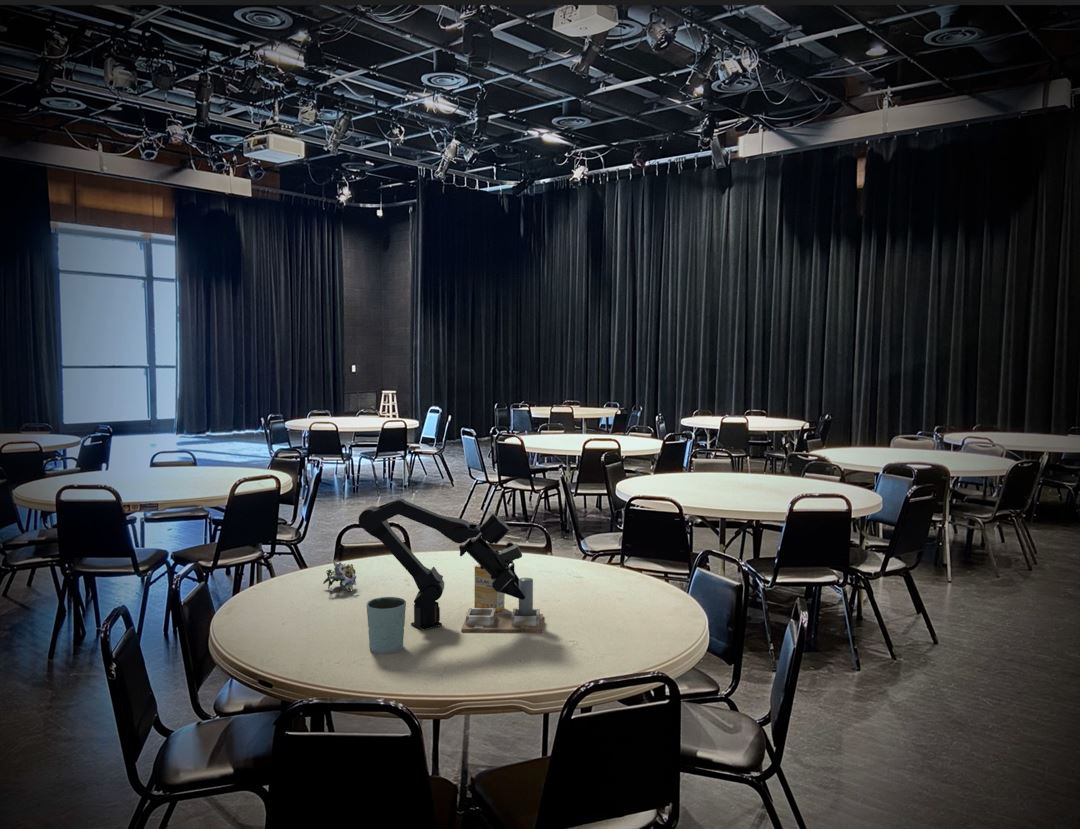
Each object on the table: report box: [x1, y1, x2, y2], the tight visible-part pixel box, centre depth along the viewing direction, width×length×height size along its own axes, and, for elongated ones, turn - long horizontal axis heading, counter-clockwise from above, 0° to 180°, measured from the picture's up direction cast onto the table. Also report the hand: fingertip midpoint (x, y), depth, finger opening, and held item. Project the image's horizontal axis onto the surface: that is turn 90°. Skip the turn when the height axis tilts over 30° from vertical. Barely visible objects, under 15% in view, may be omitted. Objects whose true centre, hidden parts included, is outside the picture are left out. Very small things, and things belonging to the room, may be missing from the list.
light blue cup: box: [365, 596, 407, 655], centre depth 204 cm, size 10×10×12 cm
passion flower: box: [323, 560, 358, 592], centre depth 258 cm, size 11×11×12 cm
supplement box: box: [473, 564, 506, 613], centre depth 237 cm, size 8×5×13 cm, turn 62°
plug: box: [518, 577, 534, 616], centre depth 223 cm, size 4×4×12 cm
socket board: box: [461, 607, 544, 634], centre depth 223 cm, size 22×14×3 cm, turn 88°
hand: (523, 593), depth 222 cm, fingers open, 9 cm apart
